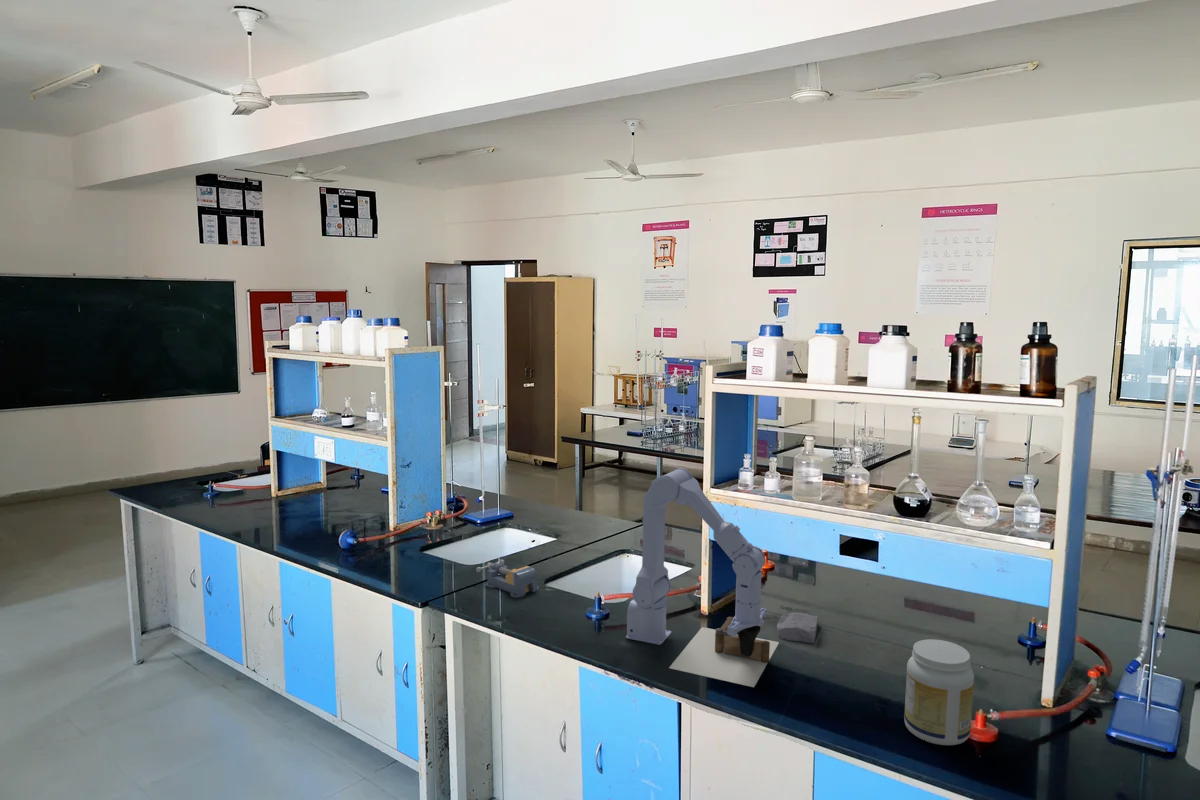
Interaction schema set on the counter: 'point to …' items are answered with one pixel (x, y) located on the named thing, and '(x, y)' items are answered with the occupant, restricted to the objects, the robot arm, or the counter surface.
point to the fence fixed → (722, 636)
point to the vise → (511, 578)
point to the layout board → (719, 661)
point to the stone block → (798, 627)
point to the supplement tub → (939, 692)
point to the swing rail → (733, 647)
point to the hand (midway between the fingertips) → (746, 654)
